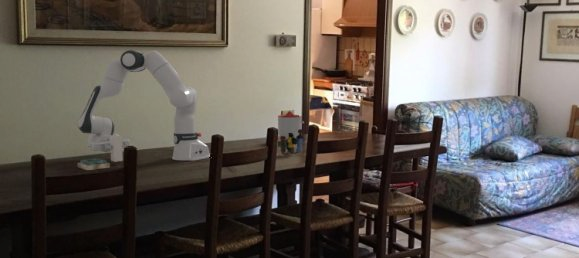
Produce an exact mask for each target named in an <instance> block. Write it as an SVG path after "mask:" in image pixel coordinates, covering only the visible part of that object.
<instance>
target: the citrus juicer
mask: <svg viewBox="0 0 579 258" xmlns="http://www.w3.org/2000/svg"><path fill="white" fill-rule="evenodd" d="M302 118H303V116H302V115H299V114H294V113H293V112H292V111H291V110H289V111H287V113H285V114H279V115H277V130H279V133H278V137H279V140H280V142H281V141H282V140H281V138H280V137H281V136H285V137H286V138H285V140H287V139H288V138H289V136H288V135H289V134H288V133H293V135H294V137H295V138H296V137H297V136H298V135H299V133H298V130H299V129H302V125H303V124H305V122H304V120H303V119H302Z"/></svg>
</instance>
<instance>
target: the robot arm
mask: <svg viewBox="0 0 579 258" xmlns="http://www.w3.org/2000/svg"><path fill="white" fill-rule="evenodd" d="M145 70H147V71H149V74H151V75H152V76H153V78H154V79H155V80H156V81H157V82H158V84H159V85H160V86H161V87H162V89H163V91H164V93H165V95H166V96H167V98H168V99H169V103H170V104H171V105H172V106H173V107H175V114H174V118H173V123H174V124H173V126H174V127H173V129H174V132H173V154H172V158H171V159H172V160H174V161H193V162H194V161H198V160H204V159H210V158H209V157H210V154H211V153H210V149H209V146H208V145H207V144H206V143H204V142H203V141H202V140H201V139H199V138H201V137H202V133H201V132H196V121H195V120H196V110H197V100H198V92H197V90H196V89H195V88H194V87H192V86H189V85H187V86H186V85H185V84H184V82H183V81H182V79H181V77H180V74H179V73H178V71H176V69H175V68H174V66H172V65H171V63H170V62H169V61H168V59H166V58H165V56H164V55H162V54H161V53H160V52H159V51H157V50H150V51H148V52H146V53H145V54H144V53H143V52H140V51H139V50H133V49H130V50H126V51H124V52H123V53H122V54H121V55H120V59H119V58H115V59H111V60H110V61H109V62H108V64H107V67H106V70H105V72H104V75H103V78H102V81H101V82H100V84H99V85H96V86H95V87H94V89H93V90H92V93H91V94H90V96H89V98H88V100H87V103H86V106H85V108H84V110H83V112H82V114H81V115H80V117H79V119H78V123H77V128H78V129H79V131H80V132H81V133H83V134H91V135H89V136H88V139H87V143H88V146H87V147H88V148H90V149H91V150H92V151H94V152H95V151H100V152H104V153H111V150H110V149H113V145H110V136H112V135H113V134H115V124H114V121H113V120H112V119H111V118H109V117H103V116H96V115H94V113H95V111H96V108H97V106H98V103H99V102H100V101H101V100H102V99H105V98H111V97H115V96H117V95H119V94H121V93H122V91H123V89H124V86H125V83H126V78H127V75H128V74H129V73H137V72H138V73H139V72H142V71H145ZM126 146H130V147H131V140H130V139H128V138H125V137H122V149H123V148H127V147H126Z"/></svg>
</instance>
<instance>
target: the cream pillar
mask: <svg viewBox="0 0 579 258" xmlns="http://www.w3.org/2000/svg"><path fill="white" fill-rule="evenodd" d="M122 138H123V136H122V135H120V134H118V133H113V135H112V136H110V145H113V149H110V150H111V151H110V161H111V162H114V163H115V162H116V163H117V162H123V161H124V160H123V158H124V157H123V148H122Z"/></svg>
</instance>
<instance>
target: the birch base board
mask: <svg viewBox="0 0 579 258" xmlns="http://www.w3.org/2000/svg"><path fill="white" fill-rule="evenodd" d="M76 165H77V168H79V169H81V170H84V171H92V170H93V171H94V170H99V169H100V170H102V169H108V168H111V163H110V162H107V160H106V159H102V158H101V157H98V158H89V159H81V160H80V162H77V164H76Z"/></svg>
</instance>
